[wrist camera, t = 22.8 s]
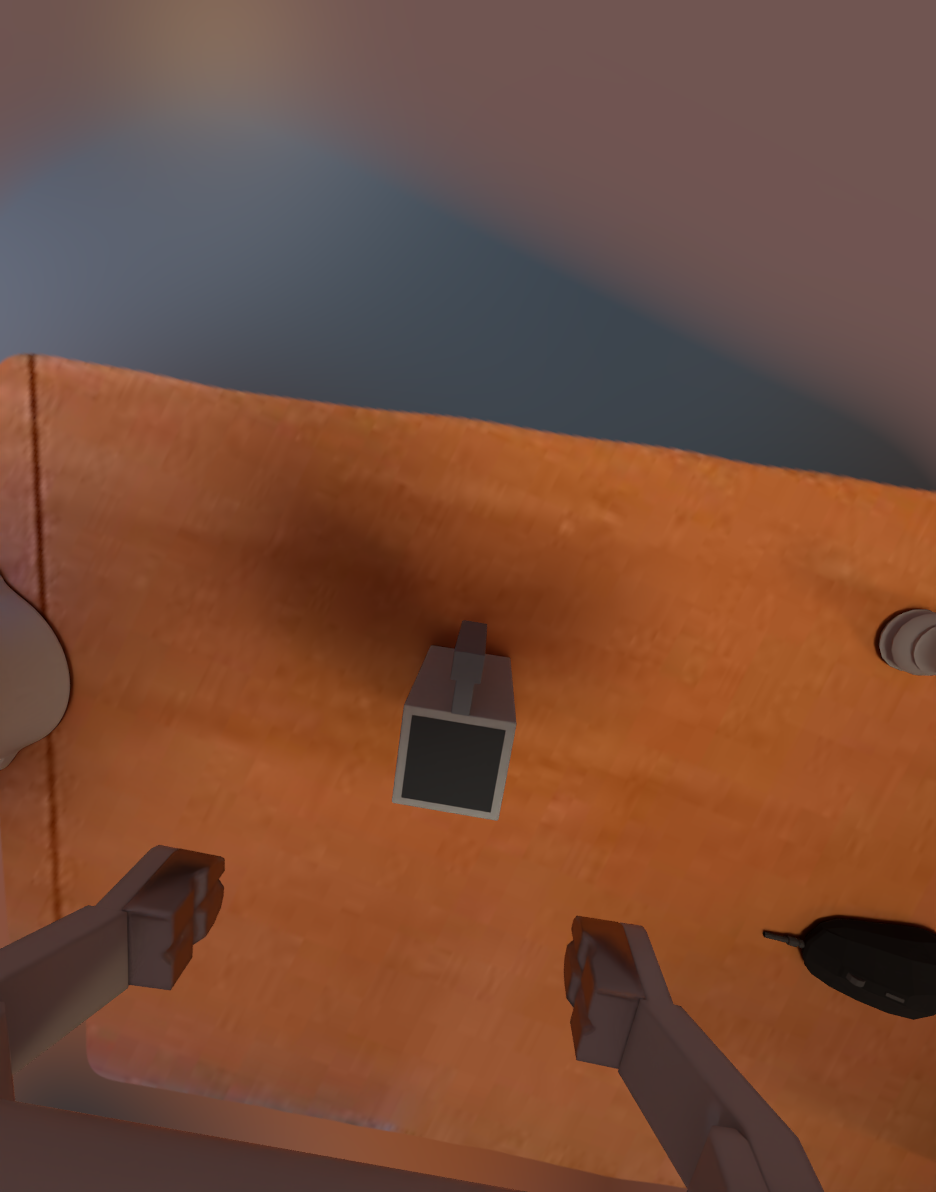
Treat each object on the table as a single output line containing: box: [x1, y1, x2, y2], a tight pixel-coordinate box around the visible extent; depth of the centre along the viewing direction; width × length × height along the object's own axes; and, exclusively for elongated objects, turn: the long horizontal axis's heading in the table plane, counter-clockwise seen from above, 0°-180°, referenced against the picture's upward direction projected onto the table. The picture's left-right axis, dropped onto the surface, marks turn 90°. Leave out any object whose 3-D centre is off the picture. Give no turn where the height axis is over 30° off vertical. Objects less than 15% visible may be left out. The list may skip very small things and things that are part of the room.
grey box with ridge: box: [392, 620, 516, 820], centre depth 28 cm, size 10×6×9 cm
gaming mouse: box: [763, 919, 936, 1020], centre depth 35 cm, size 6×15×4 cm, turn 82°
